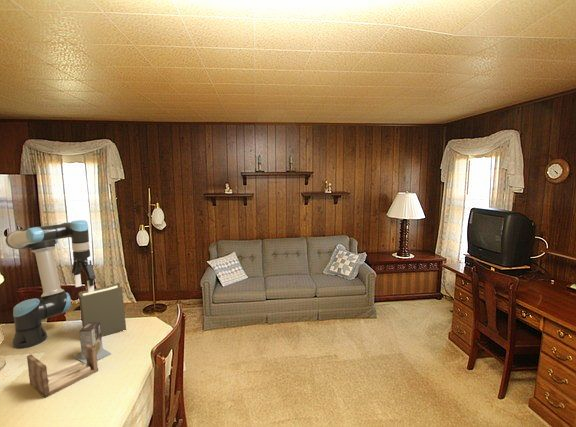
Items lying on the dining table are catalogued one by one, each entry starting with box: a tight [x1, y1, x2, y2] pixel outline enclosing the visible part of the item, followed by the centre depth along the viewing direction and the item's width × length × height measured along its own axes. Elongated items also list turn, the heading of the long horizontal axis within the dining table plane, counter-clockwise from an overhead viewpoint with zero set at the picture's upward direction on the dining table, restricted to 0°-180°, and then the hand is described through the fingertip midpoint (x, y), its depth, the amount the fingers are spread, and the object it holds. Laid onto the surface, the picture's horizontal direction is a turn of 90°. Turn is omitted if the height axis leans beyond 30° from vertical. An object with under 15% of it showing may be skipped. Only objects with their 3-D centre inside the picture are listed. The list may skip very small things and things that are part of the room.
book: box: [78, 282, 127, 337], centre depth 187 cm, size 22×9×28 cm, turn 127°
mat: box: [73, 348, 112, 365], centre depth 166 cm, size 14×12×1 cm
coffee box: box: [78, 322, 104, 359], centre depth 165 cm, size 9×6×16 cm
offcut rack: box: [26, 344, 99, 399], centre depth 147 cm, size 16×22×14 cm
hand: (84, 289), depth 167 cm, fingers open, 13 cm apart
